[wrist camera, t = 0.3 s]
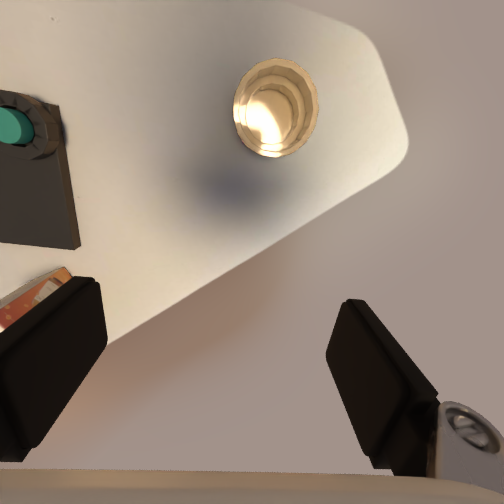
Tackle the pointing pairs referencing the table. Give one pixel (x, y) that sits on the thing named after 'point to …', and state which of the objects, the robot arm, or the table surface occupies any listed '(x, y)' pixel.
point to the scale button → (15, 127)
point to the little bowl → (275, 107)
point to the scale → (36, 181)
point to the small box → (30, 296)
